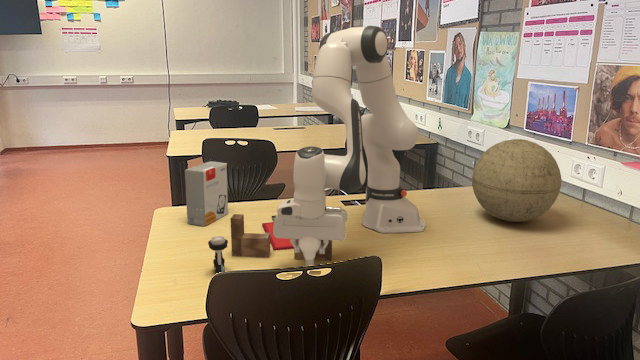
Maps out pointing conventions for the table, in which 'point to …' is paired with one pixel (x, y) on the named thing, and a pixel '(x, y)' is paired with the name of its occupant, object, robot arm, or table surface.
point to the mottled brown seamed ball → (516, 180)
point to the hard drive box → (206, 193)
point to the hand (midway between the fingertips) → (309, 252)
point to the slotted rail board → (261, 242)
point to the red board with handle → (276, 242)
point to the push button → (218, 252)
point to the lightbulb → (309, 248)
